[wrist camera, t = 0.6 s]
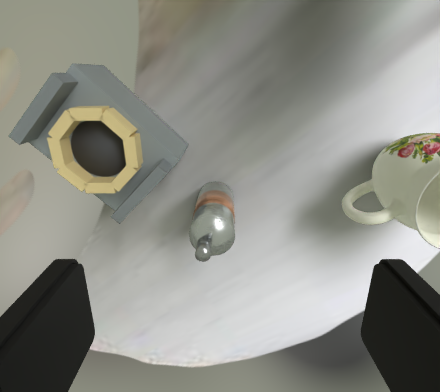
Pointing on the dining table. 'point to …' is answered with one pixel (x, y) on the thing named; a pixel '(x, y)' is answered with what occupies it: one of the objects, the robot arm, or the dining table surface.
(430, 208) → the pitcher
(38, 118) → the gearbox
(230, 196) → the cocktail shaker
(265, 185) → the dining table surface
